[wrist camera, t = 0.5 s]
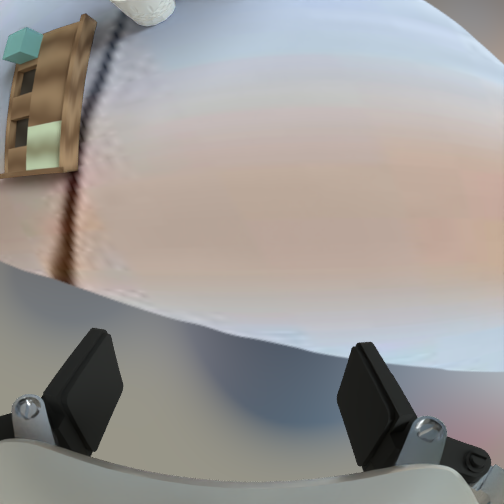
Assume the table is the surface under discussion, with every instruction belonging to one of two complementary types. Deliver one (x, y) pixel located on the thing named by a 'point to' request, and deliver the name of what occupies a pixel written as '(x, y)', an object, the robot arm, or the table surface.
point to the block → (23, 46)
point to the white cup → (146, 10)
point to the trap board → (49, 103)
